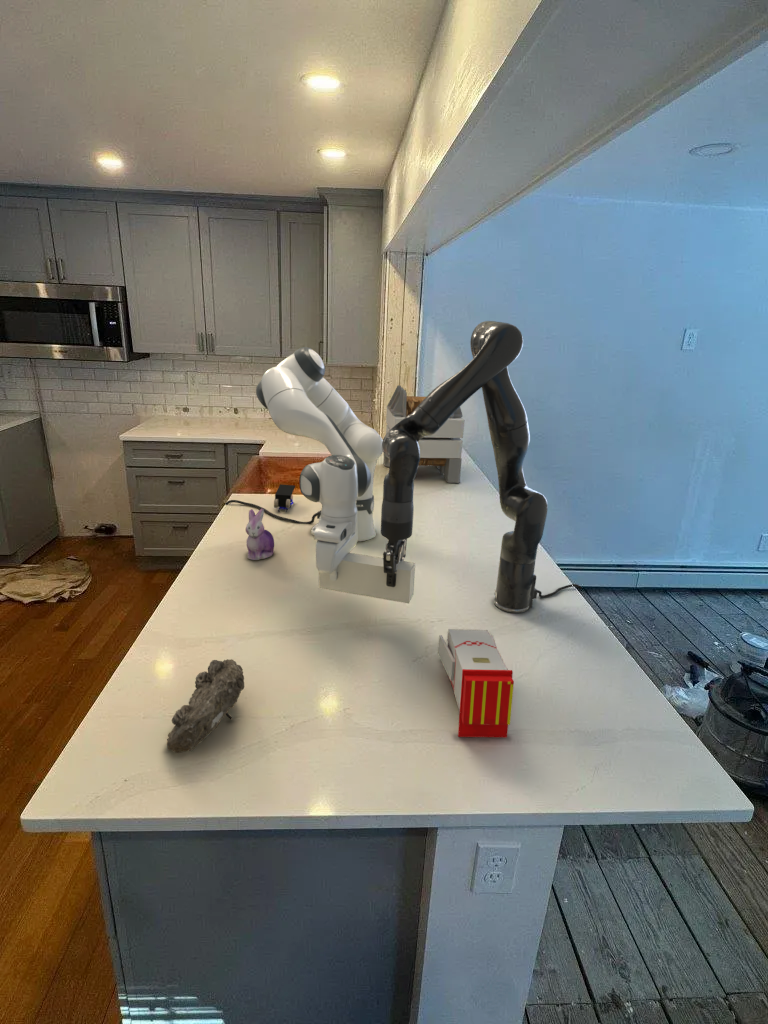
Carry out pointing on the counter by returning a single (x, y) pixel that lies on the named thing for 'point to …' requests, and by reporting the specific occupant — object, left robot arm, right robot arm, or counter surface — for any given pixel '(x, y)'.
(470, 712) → the toy
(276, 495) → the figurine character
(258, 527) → the figurine
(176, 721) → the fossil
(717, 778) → the counter surface
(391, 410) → the slatted wooden crate
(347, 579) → the bar
